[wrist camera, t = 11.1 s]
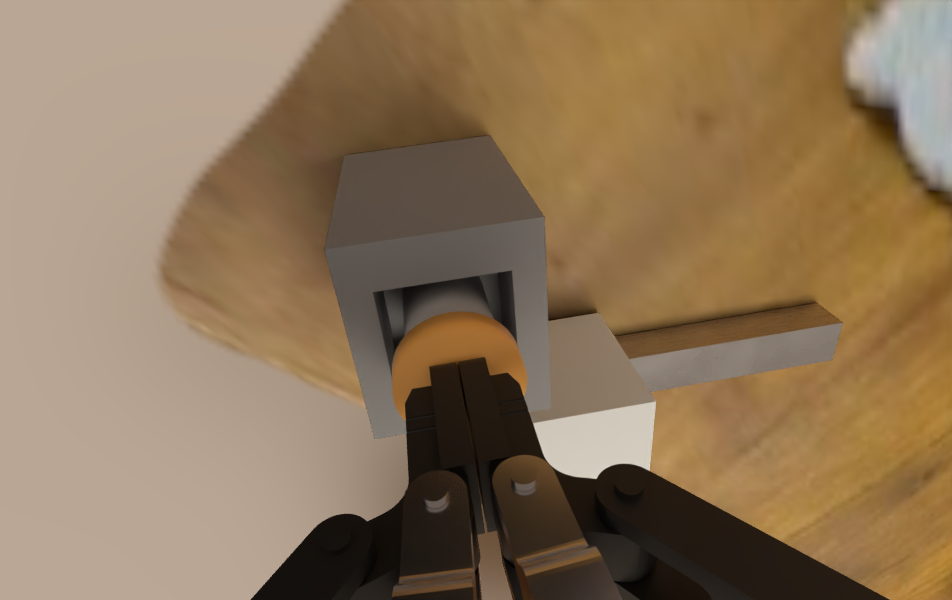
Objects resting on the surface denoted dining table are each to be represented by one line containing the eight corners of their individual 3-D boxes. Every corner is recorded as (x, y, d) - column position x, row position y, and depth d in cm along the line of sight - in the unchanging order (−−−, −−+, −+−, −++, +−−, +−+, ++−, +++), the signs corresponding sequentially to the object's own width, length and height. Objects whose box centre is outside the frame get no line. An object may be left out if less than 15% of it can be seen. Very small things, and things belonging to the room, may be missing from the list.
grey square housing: (490, 135, 23) (544, 216, 15) (502, 285, 27) (551, 412, 19) (344, 155, 22) (324, 249, 15) (377, 305, 26) (375, 443, 18)
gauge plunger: (490, 240, 18) (523, 321, 14) (498, 330, 20) (530, 426, 16) (381, 256, 18) (381, 344, 14) (399, 346, 20) (404, 448, 16)
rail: (816, 302, 30) (843, 322, 28) (807, 338, 31) (832, 360, 29) (489, 357, 29) (496, 381, 27) (493, 392, 30) (500, 418, 28)
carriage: (599, 312, 28) (655, 401, 22) (597, 402, 31) (646, 501, 25) (502, 328, 28) (533, 423, 22) (509, 417, 31) (539, 521, 25)
